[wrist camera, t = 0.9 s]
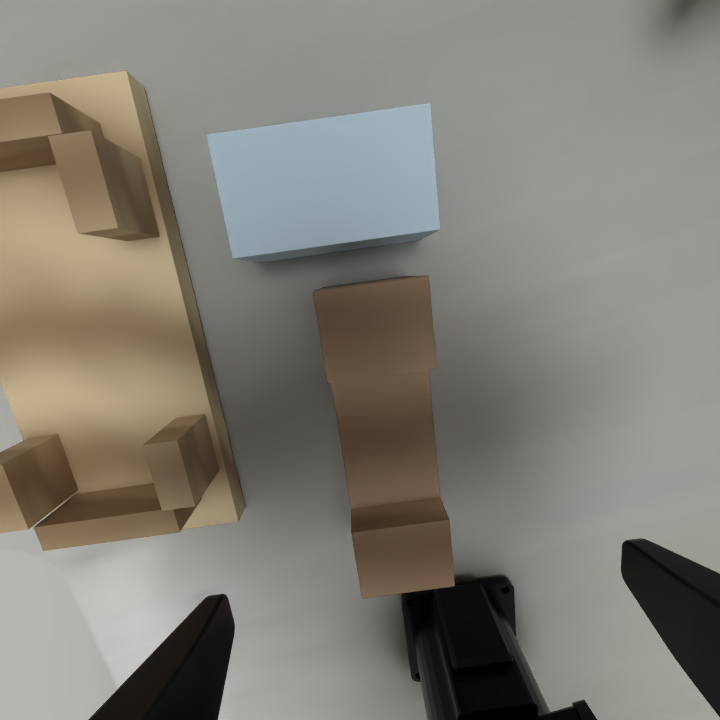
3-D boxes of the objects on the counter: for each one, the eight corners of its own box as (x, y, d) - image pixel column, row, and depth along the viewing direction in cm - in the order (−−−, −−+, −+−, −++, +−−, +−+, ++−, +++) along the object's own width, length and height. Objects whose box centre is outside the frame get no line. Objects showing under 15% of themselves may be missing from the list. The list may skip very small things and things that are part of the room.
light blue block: (418, 240, 17) (440, 229, 13) (259, 262, 17) (232, 258, 13) (409, 146, 16) (430, 103, 12) (241, 170, 16) (206, 134, 12)
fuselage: (429, 510, 20) (454, 586, 15) (358, 520, 20) (362, 598, 15) (405, 275, 17) (428, 275, 12) (323, 286, 17) (312, 291, 12)
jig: (245, 506, 19) (218, 565, 15) (81, 529, 19) (13, 593, 15) (144, 86, 15) (70, 18, 11) (-72, 117, 15) (-224, 59, 11)
